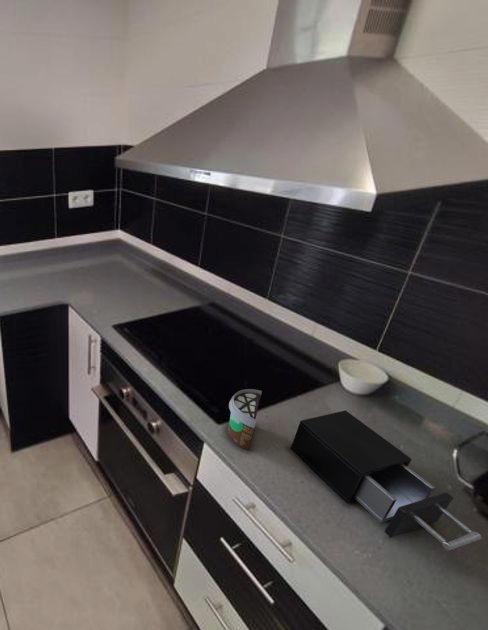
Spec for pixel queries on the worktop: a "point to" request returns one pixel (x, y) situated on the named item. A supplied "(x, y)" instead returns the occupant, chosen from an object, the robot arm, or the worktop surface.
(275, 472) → the worktop surface
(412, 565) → the worktop surface
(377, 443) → the mini drawer cabinet
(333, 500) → the worktop surface
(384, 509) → the drawer
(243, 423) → the food container
